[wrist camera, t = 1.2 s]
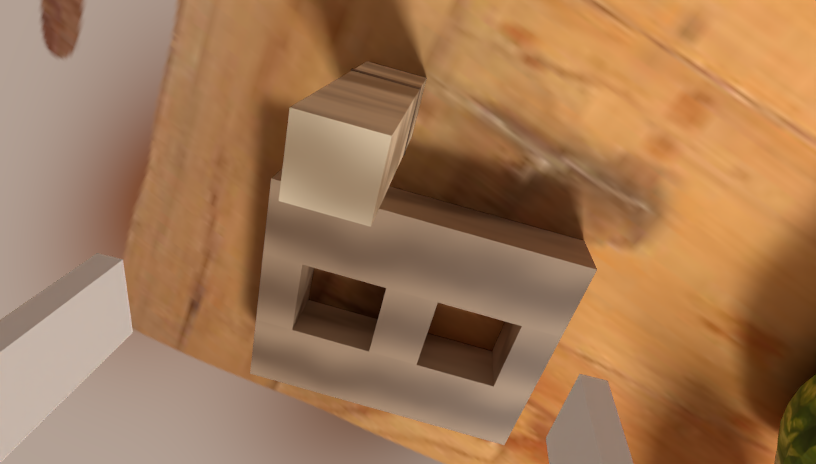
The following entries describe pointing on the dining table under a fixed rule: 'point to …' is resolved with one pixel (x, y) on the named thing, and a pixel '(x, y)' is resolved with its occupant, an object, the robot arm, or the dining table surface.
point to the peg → (350, 142)
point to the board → (417, 308)
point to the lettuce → (799, 427)
